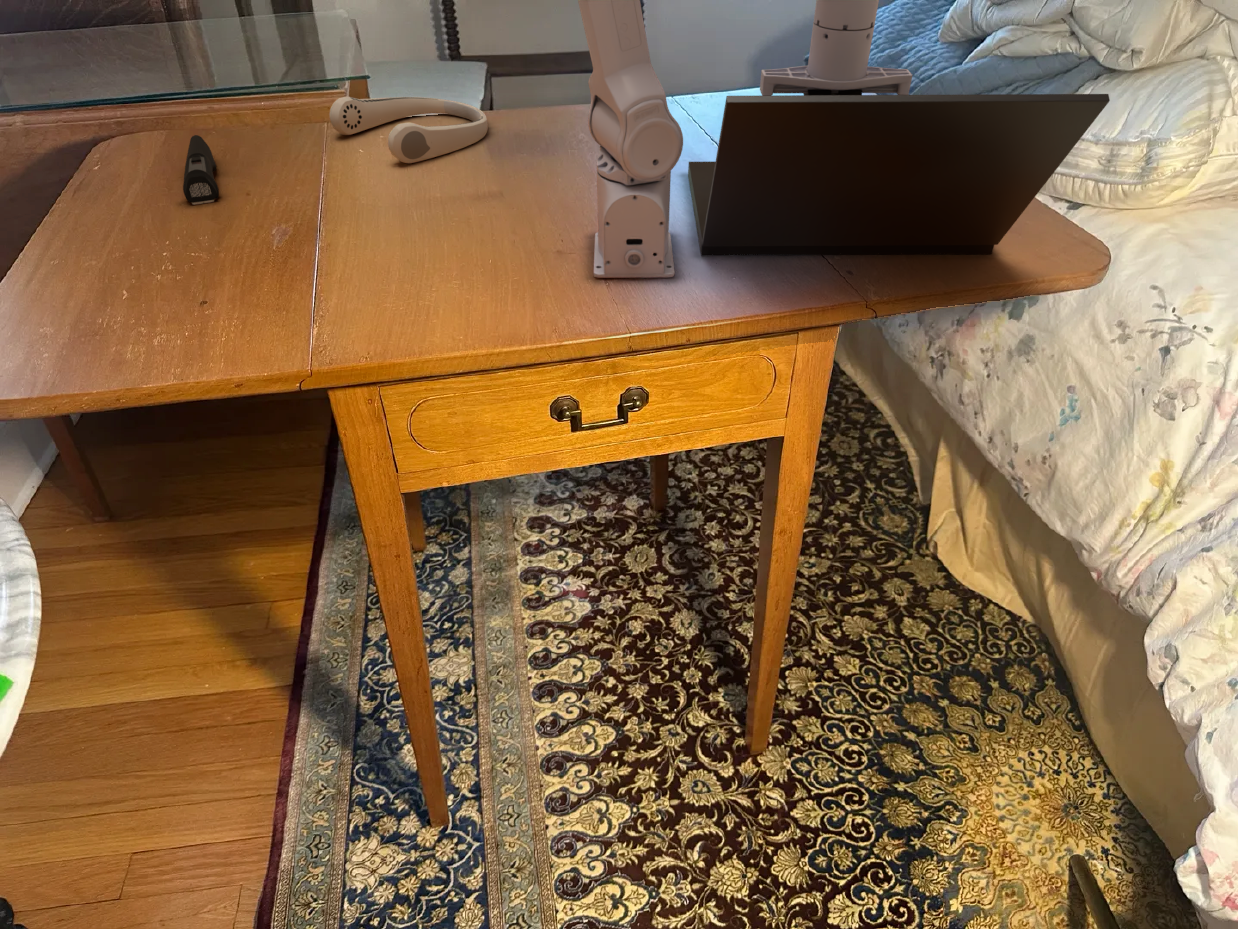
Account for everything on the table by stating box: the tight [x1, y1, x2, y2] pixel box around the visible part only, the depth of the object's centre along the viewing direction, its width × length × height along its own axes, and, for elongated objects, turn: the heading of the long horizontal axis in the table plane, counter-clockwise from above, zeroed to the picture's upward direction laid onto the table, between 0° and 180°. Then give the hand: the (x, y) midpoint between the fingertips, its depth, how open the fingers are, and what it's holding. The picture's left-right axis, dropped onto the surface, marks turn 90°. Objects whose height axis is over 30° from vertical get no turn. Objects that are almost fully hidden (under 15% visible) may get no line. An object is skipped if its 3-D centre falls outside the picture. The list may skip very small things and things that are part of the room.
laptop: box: [687, 161, 995, 257], centre depth 96 cm, size 21×30×2 cm
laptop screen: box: [702, 93, 1111, 246], centre depth 77 cm, size 21×30×1 cm
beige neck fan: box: [329, 95, 489, 164], centre depth 114 cm, size 18×17×5 cm
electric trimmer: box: [182, 134, 220, 206], centre depth 104 cm, size 4×16×3 cm, turn 21°
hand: (822, 164), depth 91 cm, fingers closed
